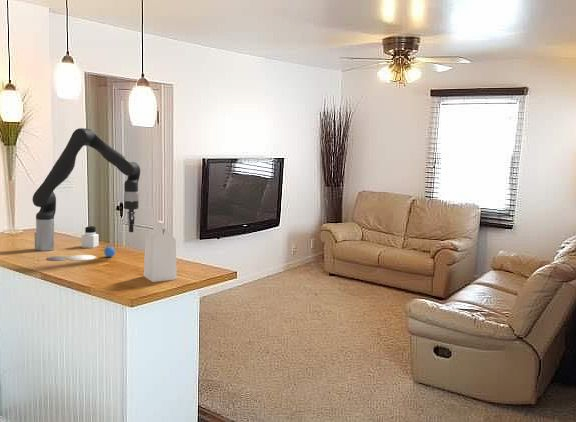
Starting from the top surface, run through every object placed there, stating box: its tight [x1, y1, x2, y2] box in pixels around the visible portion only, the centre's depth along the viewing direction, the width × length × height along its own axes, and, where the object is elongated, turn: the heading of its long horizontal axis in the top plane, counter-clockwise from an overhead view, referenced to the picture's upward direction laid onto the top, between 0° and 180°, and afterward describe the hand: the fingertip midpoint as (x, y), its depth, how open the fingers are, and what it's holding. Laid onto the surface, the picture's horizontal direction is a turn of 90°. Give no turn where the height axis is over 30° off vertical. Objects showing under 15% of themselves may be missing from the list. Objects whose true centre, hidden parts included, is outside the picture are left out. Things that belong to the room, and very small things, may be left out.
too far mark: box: [46, 255, 68, 262], centre depth 287 cm, size 10×10×1 cm
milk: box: [143, 220, 178, 283], centre depth 253 cm, size 12×12×26 cm
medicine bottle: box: [81, 225, 100, 249], centre depth 321 cm, size 7×7×12 cm
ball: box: [103, 246, 116, 258], centre depth 295 cm, size 6×6×6 cm
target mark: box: [66, 254, 97, 262], centre depth 291 cm, size 14×14×1 cm
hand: (131, 231), depth 298 cm, fingers closed
